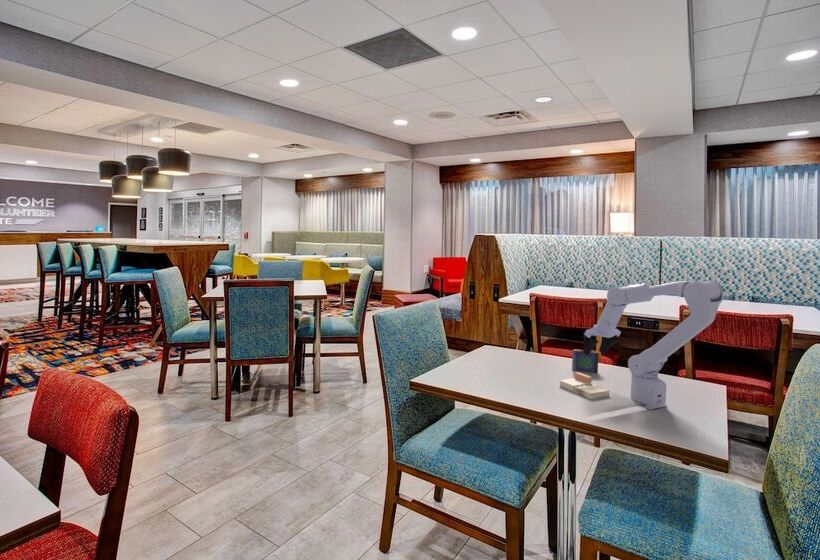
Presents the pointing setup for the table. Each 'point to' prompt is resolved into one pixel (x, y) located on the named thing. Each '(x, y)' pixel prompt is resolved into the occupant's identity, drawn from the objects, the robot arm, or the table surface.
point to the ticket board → (591, 391)
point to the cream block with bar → (576, 381)
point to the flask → (585, 361)
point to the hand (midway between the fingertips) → (593, 353)
